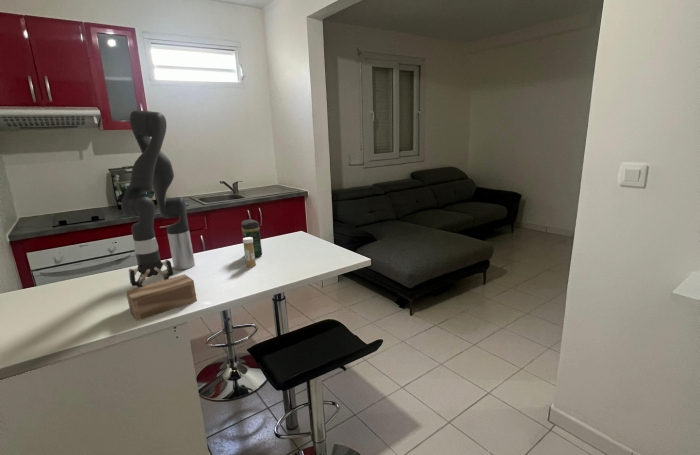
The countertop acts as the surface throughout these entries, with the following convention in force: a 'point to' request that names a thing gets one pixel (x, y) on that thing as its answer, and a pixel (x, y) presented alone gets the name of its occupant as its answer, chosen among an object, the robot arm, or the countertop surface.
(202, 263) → the countertop surface
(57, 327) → the countertop surface
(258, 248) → the coffee jar
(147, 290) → the brown wooden block
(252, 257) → the sprinkles bottle
